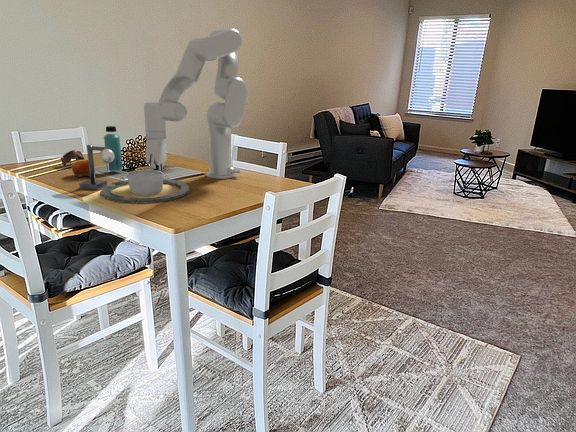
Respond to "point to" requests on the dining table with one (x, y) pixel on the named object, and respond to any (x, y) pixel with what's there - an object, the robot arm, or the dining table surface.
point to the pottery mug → (69, 155)
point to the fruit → (81, 168)
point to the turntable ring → (109, 195)
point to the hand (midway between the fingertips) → (158, 180)
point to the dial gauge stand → (92, 183)
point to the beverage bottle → (113, 148)
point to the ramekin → (145, 181)
